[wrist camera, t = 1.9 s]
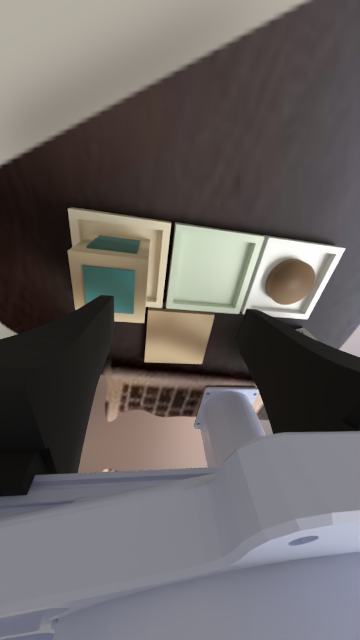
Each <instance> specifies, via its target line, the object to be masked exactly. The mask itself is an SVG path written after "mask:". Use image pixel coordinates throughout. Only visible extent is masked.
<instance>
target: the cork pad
mask: <svg viewBox="0 0 360 640" xmlns="http://www.w3.org/2000/svg"><path fill="white" fill-rule="evenodd" d="M214 317H215V315H214V313H213V312H201V311H188V310H175V309H161V308H148V319H147V333H146V347H145V361H144V362H157V363H186V364H202V362H203V358H204V354H205V350H206V347H207V343H208V339H209V335H210V332H211V328H212V324H213V320H214Z"/></svg>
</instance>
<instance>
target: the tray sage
mask: <svg viewBox="0 0 360 640" xmlns="http://www.w3.org/2000/svg"><path fill="white" fill-rule="evenodd" d="M264 238H265V237H264V236H262V235H259V234H253V233H247V232H240V231H233V230H226V229H219V228H212V227H205V226H198V225H191V224H185V223H178V222H175V227H174V236H173V244H172V252H171V261H170V269H169V278H168V286H167V294H166V308H167V309H180V310H193V311H206V312H219V313H232V314H239V313H240V310H241V307H242V304H243V301H244V298H245V295H246V292H247V289H248V286H249V283H250V280H251V277H252V274H253V271H254V268H255V265H256V262H257V259H258V256H259V253H260V250H261V247H262V244H263V241H264Z"/></svg>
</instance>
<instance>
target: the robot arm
mask: <svg viewBox="0 0 360 640" xmlns="http://www.w3.org/2000/svg"><path fill="white" fill-rule="evenodd" d="M113 334H114V296H108V295H100V296H98V297H97V298H95V299H93V300H92V301H90V302H89V303H87V304H85V305H84V306H82V307H80V308H79V309H77V310H75V311H73V312H71V313H70V314H68V315H66V316H64V317H62V318H60V319H58V320H56V321H53V322H51V323H49V324H46V325H44V326H41V327H39V328H36V329H33V330H30V331H27V332H24V333H20V334H17V335H14V336H11V337H7V338H4V339H0V640H360V357H357V356H354V355H352V354H349V353H346V352H343V351H341V350H338V349H335V348H333V347H331V346H328V345H326V344H324V343H321V342H319V341H317V340H315V339H313V338H310V337H308V336H306V335H305V334H303V333H301V332H299V331H297V330H295V329H293V328H291V327H289V326H288V325H286V324H284V323H282V322H280V321H279V320H277V319H275V318H273V317H272V316H270V315H268V314H266V313H264V312H262V311H259V310H257V309H247V308H246V311H245V314H244V317H243V319H242V322H241V325H240V328H239V330H238V333H237V336H236V340H237V344H238V347H239V350H240V353H241V355H242V357H243V359H244V361H245V363H246V365H247V367H248V369H249V371H250V373H251V375H252V377H253V379H254V382H255V384H256V386H257V388H247V387H206V388H205V390H204V394H203V397H202V400H201V404H200V407H199V410H198V414H197V417H196V421H195V424H194V428H195V429H200V430H201V435H202V440H203V445H204V451H205V456H206V461H207V466H208V468H187V469H166V470H164V469H163V470H140V471H117V472H94V473H78V468H79V463H80V458H81V452H82V447H83V443H84V439H85V434H86V429H87V425H88V420H89V416H90V411H91V407H92V403H93V398H94V395H95V390H96V387H97V384H98V380H99V377H100V375H101V372H102V369H103V367H104V364H105V361H106V358H107V355H108V353H109V350H110V347H111V343H112V339H113ZM259 392H260V395H261V398H262V401H263V403H264V406H265V409H266V412H267V415H268V418H269V421H270V424H271V427H272V431H273V434H271V435H266V434H265V432H264V430H263V428H262V426H261V423H260V421H259V419H258V417H257V414H256V412H255V410H254V408H253V406H252V405H253V403H254V401H255V399H256V397H257V395H258V393H259Z"/></svg>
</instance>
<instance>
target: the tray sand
mask: <svg viewBox="0 0 360 640" xmlns="http://www.w3.org/2000/svg"><path fill="white" fill-rule="evenodd" d="M68 215H69V223H70V232H71V240H72V247H74V246H75V245H76V244H78V243H79V242H81V241H82V240H84V239H85V238H87V237H88V236H89V235H91V234H92V233H94V232H95V233H103V234H110V235H118V236H126V237H134V238H141V239H149V240H150V252H149V267H148V282H147V296H146V307H154V308H162V303H163V294H164V285H165V276H166V267H167V258H168V249H169V240H170V231H171V222H170V221H164V220H157V219H150V218H143V217H136V216H129V215H123V214H116V213H109V212H102V211H95V210H88V209H81V208H74V207H72V208H68Z"/></svg>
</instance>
